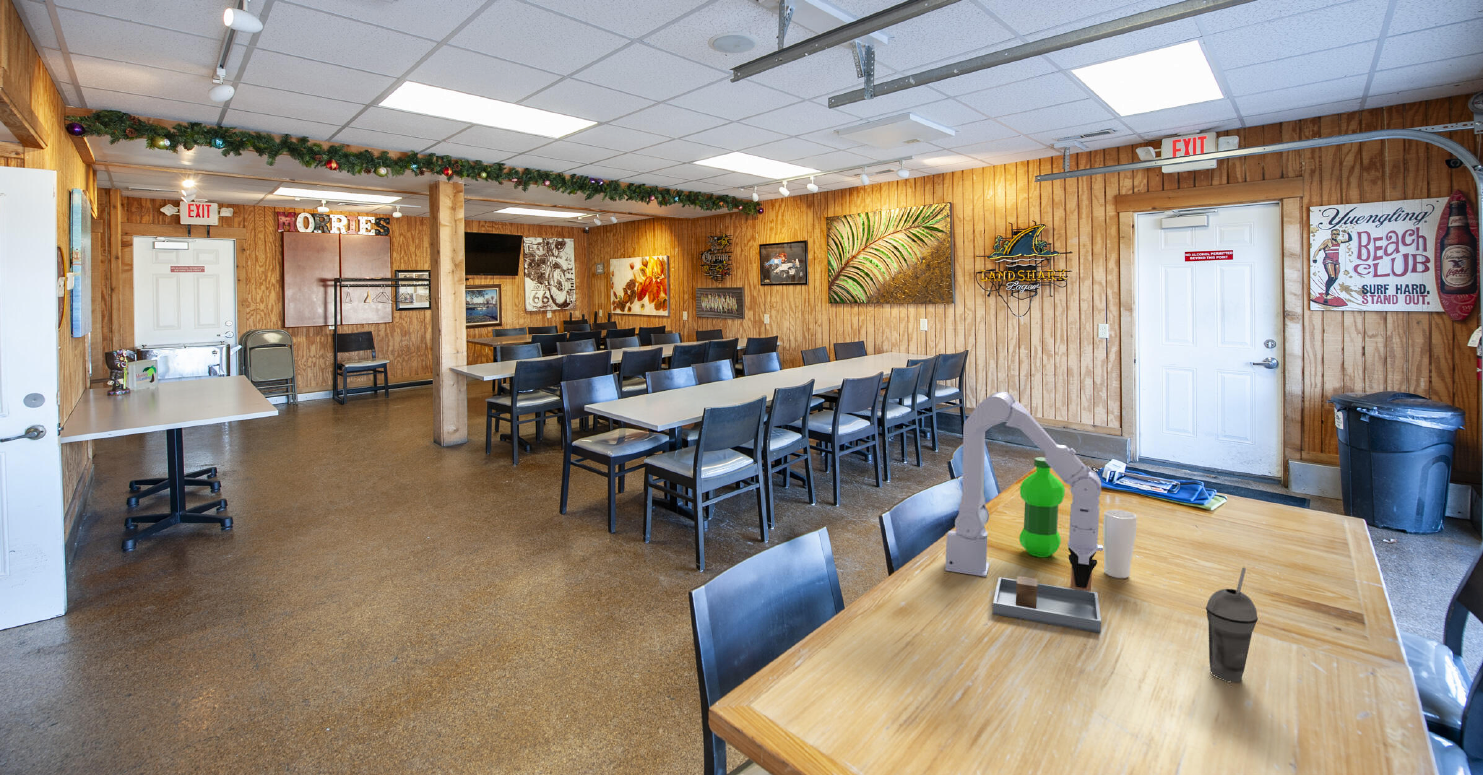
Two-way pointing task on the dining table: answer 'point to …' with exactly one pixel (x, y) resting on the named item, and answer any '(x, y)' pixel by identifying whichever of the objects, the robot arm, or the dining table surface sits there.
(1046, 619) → the tray
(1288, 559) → the dining table surface
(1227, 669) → the beverage cup
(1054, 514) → the plastic bottle
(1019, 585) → the walnut block
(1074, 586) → the terracotta block
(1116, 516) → the drinking glass
